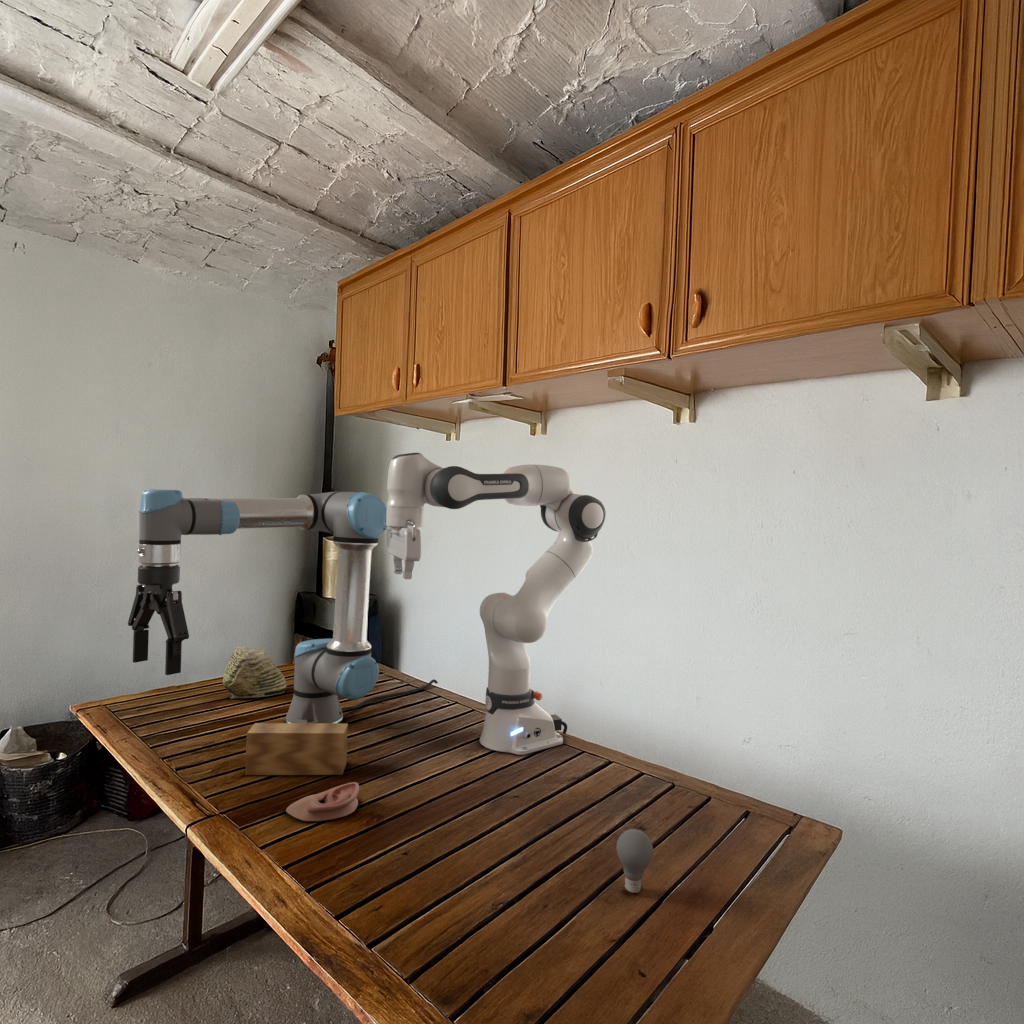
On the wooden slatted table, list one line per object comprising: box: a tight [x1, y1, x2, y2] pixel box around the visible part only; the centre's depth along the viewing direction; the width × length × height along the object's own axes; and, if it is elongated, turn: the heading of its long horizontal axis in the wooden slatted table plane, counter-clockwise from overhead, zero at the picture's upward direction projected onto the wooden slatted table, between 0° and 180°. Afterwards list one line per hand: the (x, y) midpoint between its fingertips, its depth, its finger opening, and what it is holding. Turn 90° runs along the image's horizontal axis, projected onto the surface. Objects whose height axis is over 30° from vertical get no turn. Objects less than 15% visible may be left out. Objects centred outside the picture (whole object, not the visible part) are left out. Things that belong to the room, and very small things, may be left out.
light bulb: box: [615, 828, 654, 894], centre depth 106 cm, size 6×6×10 cm
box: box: [244, 722, 349, 776], centre depth 146 cm, size 21×6×10 cm, turn 96°
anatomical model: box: [285, 781, 360, 822], centre depth 129 cm, size 13×4×12 cm
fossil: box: [222, 646, 288, 699], centre depth 198 cm, size 9×18×15 cm, turn 132°
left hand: (156, 667), depth 130 cm, fingers open, 13 cm apart
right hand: (402, 576), depth 154 cm, fingers open, 8 cm apart
